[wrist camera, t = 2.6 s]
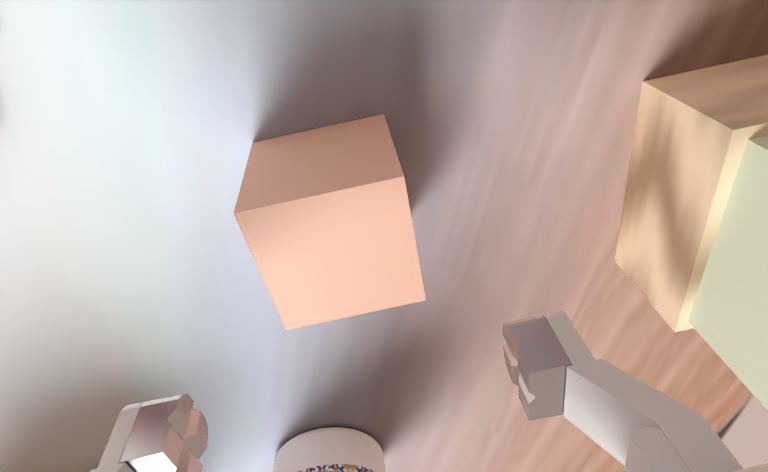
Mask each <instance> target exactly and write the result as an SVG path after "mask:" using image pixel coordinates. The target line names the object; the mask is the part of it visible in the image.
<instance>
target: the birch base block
mask: <svg viewBox="0 0 768 472" xmlns="http://www.w3.org/2000/svg"><path fill="white" fill-rule="evenodd" d="M764 136H768V55H763V56H759V57H754V58H749V59H745V60H740V61H735V62H731V63H726V64H721V65H717V66H712V67H707V68H703V69H698V70H693V71H689V72H684V73H679V74H675V75H670V76H665V77H661V78H656V79H651V80H647V81H643V83H642V89H641V95H640V102H639V108H638V115H637V121H636V127H635V134H634V140H633V147H632V153H631V159H630V166H629V172H628V179H627V185H626V191H625V198H624V204H623V211H622V217H621V223H620V230H619V236H618V243H617V249H616V255H615V262H616V263H617V264H618V265H619V266H620V268H621V269H622V270H623V271H624V272H625V274H626V275H627V276H628V277H629V278H630V280H631V281H632V282H633V283H634V284H635V285H636V287H637V288H638V289H639V290H640V291H641V293H642V294H643V295H644V296H645V297H646V299H647V300H648V301H649V302H650V303H651V304H652V306H653V307H654V308H655V309H656V310H657V312H658V313H659V314H660V315H661V316H662V318H663V319H664V320H665V321H666V322H667V324H668V325H669V326H670V327H671V328H672V329H673V331H674V332H678V331H683V330H688V329H692V328H694V327H693V326H692V325H691V324H690V323H689V322H688V318H689V315H690V312H691V309H692V306H693V303H694V300H695V297H696V294H697V291H698V288H699V285H700V282H701V279H702V276H703V273H704V270H705V267H706V264H707V261H708V258H709V255H710V252H711V249H712V246H713V243H714V240H715V237H716V234H717V231H718V228H719V225H720V222H721V219H722V216H723V213H724V210H725V207H726V204H727V201H728V198H729V195H730V192H731V189H732V186H733V183H734V180H735V177H736V174H737V171H738V168H739V165H740V162H741V159H742V156H743V153H744V150H745V147H746V144H747V141H748V139H754V138H759V137H764Z"/></svg>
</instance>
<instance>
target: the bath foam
mask: <svg viewBox="0 0 768 472" xmlns="http://www.w3.org/2000/svg"><path fill="white" fill-rule="evenodd" d="M273 472H385V464H384V457H383V452H382V449H381V447H380V445H379V444H378V443H377V442H376V440H374V439H373V438H372V437H371V436H369V435H367V434H365V433H363V432H361V431H358V430H354V429H350V428H342V427H328V428H320V429H315V430H311V431H308V432H305V433H302V434H300V435H298V436H296V437H294V438H292V439H291V440H289V441H288V442H287V443H285V444H284V445H283V446H282V447H281V449H280V450H279V451H278V453H277V455H276V457H275V460H274V465H273Z"/></svg>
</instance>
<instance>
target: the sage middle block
mask: <svg viewBox="0 0 768 472" xmlns="http://www.w3.org/2000/svg"><path fill="white" fill-rule="evenodd" d="M688 322H689V323H690V324H691V325H692V326H693V327H694V329H695V330H696V331H697V332H698V333H699V334H700V335H701V336H702V338H703V339H704V340H705V341H706V342H707V343H708V344H709V345H710V346H711V348H712V349H713V350H714V351H715V352H716V353H717V354H718V355H719V357H720V358H721V359H722V360H723V361H724V362H725V363H726V364H727V365H728V367H729V368H730V369H731V370H732V371H733V372H734V373H735V374H736V376H737V377H738V378H739V379H740V380H741V381H742V382H743V383H744V384H745V386H746V387H747V388H748V389H749V390H750V391H751V392H752V393H753V395H754V396H755V397H756V398H757V399H758V400H759V401H760V402H761V403H762V405H763V406H764V407H765V408H766V409H767V410H768V136H764V137H759V138H754V139H748V141H747V144H746V147H745V150H744V153H743V156H742V159H741V162H740V165H739V168H738V171H737V174H736V177H735V180H734V183H733V186H732V189H731V192H730V195H729V198H728V201H727V204H726V207H725V210H724V213H723V216H722V219H721V222H720V225H719V228H718V231H717V234H716V237H715V240H714V243H713V246H712V249H711V252H710V255H709V258H708V261H707V264H706V267H705V270H704V273H703V276H702V279H701V282H700V285H699V288H698V291H697V294H696V297H695V300H694V303H693V306H692V309H691V312H690V315H689V318H688Z"/></svg>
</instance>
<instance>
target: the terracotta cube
mask: <svg viewBox="0 0 768 472" xmlns="http://www.w3.org/2000/svg"><path fill="white" fill-rule="evenodd" d="M234 215H235V217H236V220H237V222H238V224H239V226H240V229H241V231H242V233H243V235H244V238H245V240H246V242H247V244H248V247H249V249H250V251H251V253H252V255H253V258H254V260H255V262H256V264H257V267H258V269H259V271H260V273H261V276H262V278H263V280H264V282H265V285H266V287H267V289H268V291H269V294H270V296H271V298H272V300H273V302H274V305H275V307H276V309H277V311H278V314H279V316H280V318H281V320H282V323H283V325H284V327H285V329H286V330H290V329H295V328H300V327H304V326H309V325H314V324H318V323H323V322H328V321H332V320H337V319H341V318H346V317H351V316H355V315H360V314H365V313H369V312H374V311H379V310H383V309H388V308H392V307H397V306H402V305H406V304H411V303H416V302H420V301H425V300H426V298H425V292H424V287H423V281H422V275H421V270H420V264H419V258H418V252H417V247H416V241H415V235H414V229H413V224H412V218H411V212H410V206H409V201H408V195H407V189H406V183H405V178H404V174H403V171H402V168H401V165H400V162H399V159H398V156H397V152H396V149H395V146H394V143H393V140H392V137H391V134H390V131H389V128H388V125H387V122H386V119H385V116H384V114H381V115H376V116H371V117H367V118H362V119H358V120H353V121H349V122H344V123H339V124H335V125H330V126H326V127H321V128H317V129H312V130H307V131H303V132H298V133H294V134H289V135H285V136H280V137H276V138H271V139H266V140H262V141H257V142H253V143H252V147H251V150H250V154H249V158H248V162H247V165H246V169H245V173H244V177H243V180H242V184H241V188H240V192H239V195H238V199H237V203H236V207H235V210H234Z"/></svg>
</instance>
